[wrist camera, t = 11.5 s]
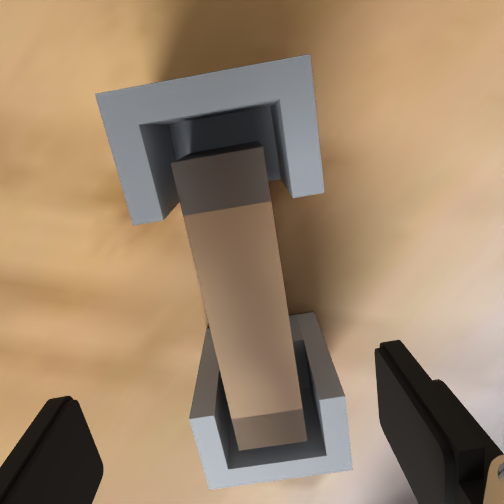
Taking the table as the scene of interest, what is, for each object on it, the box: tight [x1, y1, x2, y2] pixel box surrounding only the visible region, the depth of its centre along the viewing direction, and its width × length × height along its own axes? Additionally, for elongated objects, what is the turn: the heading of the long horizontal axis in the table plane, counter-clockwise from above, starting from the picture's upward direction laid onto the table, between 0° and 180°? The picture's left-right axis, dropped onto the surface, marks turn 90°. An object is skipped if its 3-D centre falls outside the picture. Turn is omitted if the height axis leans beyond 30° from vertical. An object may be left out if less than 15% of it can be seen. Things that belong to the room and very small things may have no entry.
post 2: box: [189, 312, 353, 490], centre depth 21 cm, size 7×5×8 cm, turn 100°
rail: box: [171, 141, 308, 451], centre depth 18 cm, size 3×14×5 cm, turn 9°
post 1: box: [95, 54, 324, 225], centre depth 17 cm, size 7×5×8 cm, turn 100°
